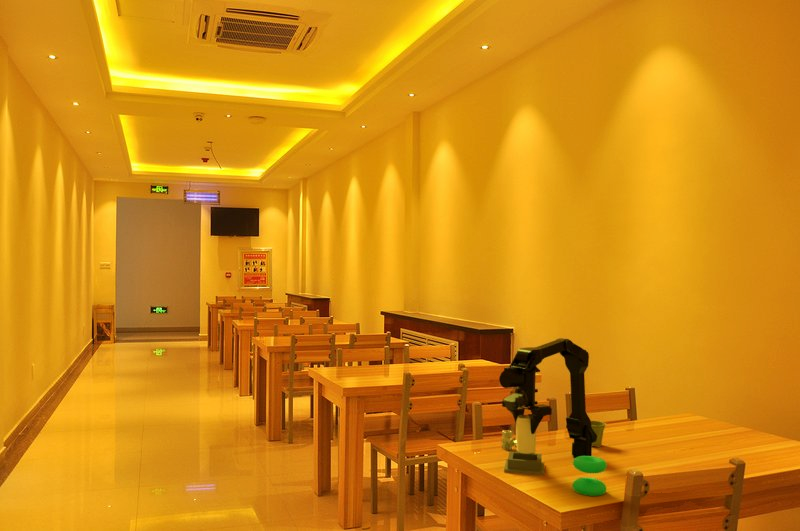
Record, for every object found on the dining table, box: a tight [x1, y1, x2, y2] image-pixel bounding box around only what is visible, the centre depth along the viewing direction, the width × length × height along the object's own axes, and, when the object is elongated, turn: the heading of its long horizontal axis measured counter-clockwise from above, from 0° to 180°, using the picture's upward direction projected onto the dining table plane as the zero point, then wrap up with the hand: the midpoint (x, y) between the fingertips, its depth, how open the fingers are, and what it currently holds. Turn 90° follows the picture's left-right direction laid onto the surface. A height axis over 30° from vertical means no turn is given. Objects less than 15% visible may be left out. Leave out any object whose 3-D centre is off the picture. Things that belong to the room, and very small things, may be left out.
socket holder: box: [503, 450, 545, 476], centre depth 234 cm, size 13×13×4 cm
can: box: [515, 414, 537, 454], centre depth 234 cm, size 6×6×12 cm
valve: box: [501, 429, 518, 452], centre depth 258 cm, size 7×7×12 cm
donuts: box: [571, 455, 608, 497], centre depth 211 cm, size 10×10×10 cm
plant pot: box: [591, 420, 607, 448], centre depth 270 cm, size 9×9×9 cm
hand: (525, 431), depth 235 cm, fingers closed on can, 6 cm apart
